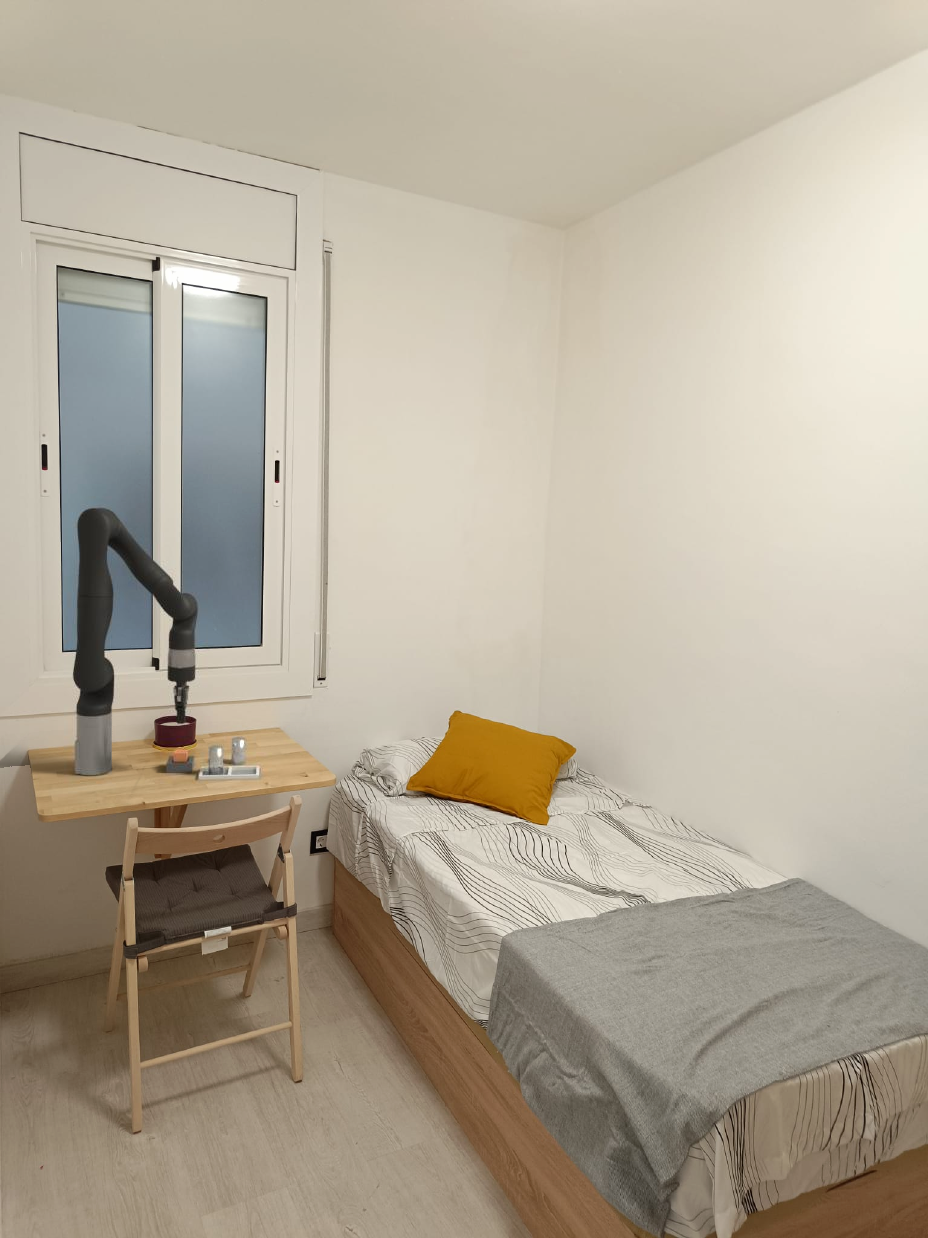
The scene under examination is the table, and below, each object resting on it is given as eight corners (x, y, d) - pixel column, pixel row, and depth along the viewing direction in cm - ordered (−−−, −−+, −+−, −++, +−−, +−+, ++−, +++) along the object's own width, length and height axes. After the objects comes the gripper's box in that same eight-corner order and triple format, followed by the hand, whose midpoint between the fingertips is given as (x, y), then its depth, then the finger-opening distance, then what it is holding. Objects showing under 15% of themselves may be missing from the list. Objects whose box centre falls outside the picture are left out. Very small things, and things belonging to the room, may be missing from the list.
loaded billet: (207, 777, 237) (208, 749, 236) (208, 772, 241) (209, 745, 240) (222, 776, 238) (222, 749, 237) (223, 772, 242) (223, 745, 241)
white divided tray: (196, 784, 234) (196, 777, 234) (199, 773, 243) (199, 766, 243) (260, 783, 238) (260, 775, 237) (260, 772, 247) (261, 765, 247)
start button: (173, 761, 240) (173, 753, 240) (174, 758, 243) (174, 749, 243) (186, 761, 241) (186, 753, 240) (187, 757, 244) (187, 749, 244)
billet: (231, 767, 249) (231, 740, 247) (231, 762, 252) (232, 737, 251) (244, 766, 249) (245, 740, 248) (245, 762, 253) (245, 737, 252)
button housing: (166, 777, 238) (166, 763, 238) (169, 769, 245) (169, 756, 245) (192, 776, 240) (192, 763, 239) (194, 769, 247) (194, 756, 246)
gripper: (170, 659, 244) (169, 717, 246) (164, 668, 231) (164, 729, 233) (197, 659, 245) (196, 716, 248) (193, 668, 233) (192, 729, 235)
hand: (181, 722), depth 241 cm, fingers closed
